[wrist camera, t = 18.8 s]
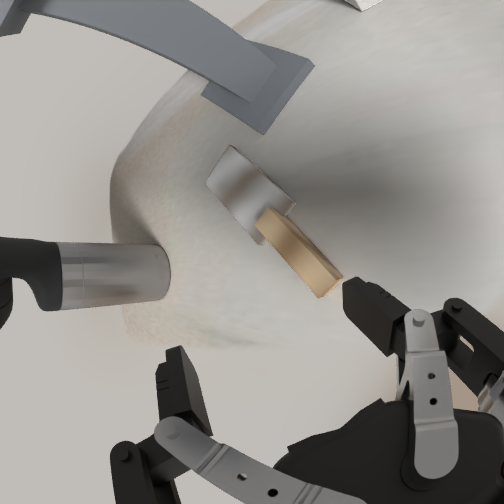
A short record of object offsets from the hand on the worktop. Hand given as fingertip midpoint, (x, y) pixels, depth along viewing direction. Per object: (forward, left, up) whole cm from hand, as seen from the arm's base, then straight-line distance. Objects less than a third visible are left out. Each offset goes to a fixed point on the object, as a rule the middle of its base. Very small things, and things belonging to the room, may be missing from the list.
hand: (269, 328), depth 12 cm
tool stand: (-4, +29, -15) cm, 32 cm away
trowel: (-7, +10, -15) cm, 19 cm away
